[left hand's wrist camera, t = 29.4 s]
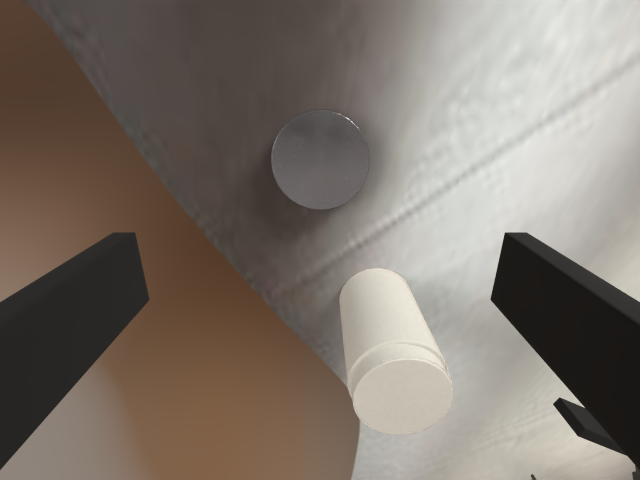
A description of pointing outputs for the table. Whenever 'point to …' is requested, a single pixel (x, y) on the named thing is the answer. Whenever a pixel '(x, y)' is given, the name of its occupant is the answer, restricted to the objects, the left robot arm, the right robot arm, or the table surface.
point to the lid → (320, 159)
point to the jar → (391, 356)
